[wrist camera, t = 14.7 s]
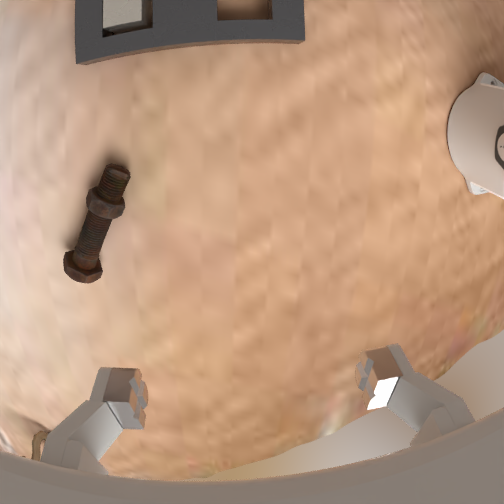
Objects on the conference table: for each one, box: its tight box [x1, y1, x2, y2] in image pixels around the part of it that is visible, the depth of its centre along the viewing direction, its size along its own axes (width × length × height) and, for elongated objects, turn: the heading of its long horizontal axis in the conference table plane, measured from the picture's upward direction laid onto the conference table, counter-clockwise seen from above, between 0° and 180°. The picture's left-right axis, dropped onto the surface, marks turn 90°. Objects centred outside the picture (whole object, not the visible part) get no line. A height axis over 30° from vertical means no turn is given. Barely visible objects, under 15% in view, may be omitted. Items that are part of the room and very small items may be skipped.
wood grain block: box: [103, 0, 152, 34], centre depth 24 cm, size 4×4×5 cm
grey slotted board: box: [75, 0, 305, 65], centre depth 25 cm, size 24×10×3 cm, turn 92°
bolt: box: [63, 164, 130, 283], centre depth 36 cm, size 6×5×15 cm
